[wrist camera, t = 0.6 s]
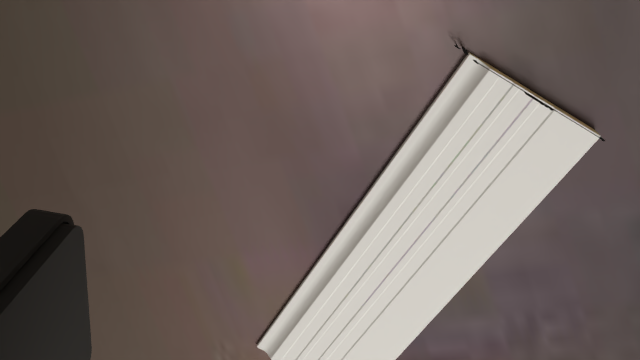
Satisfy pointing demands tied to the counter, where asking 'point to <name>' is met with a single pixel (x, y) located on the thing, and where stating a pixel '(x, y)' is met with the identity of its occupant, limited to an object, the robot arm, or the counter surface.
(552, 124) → the baseboard molding
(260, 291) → the counter surface
